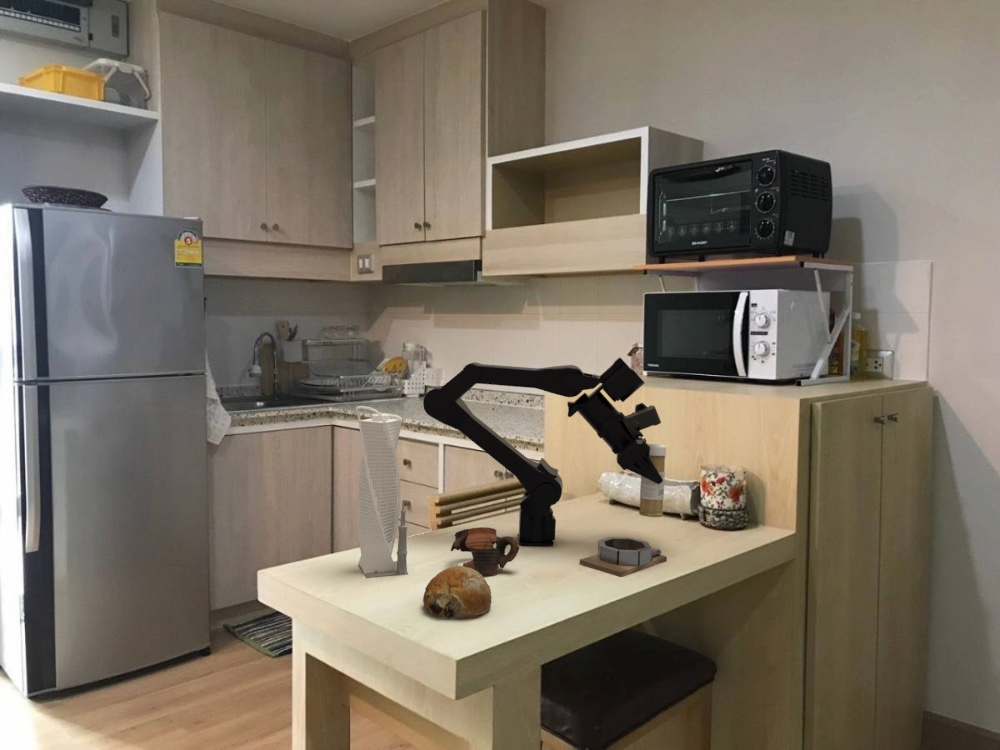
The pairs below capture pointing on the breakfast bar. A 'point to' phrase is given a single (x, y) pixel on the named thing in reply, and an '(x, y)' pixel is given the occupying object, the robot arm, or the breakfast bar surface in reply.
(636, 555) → the collar
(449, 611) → the bread roll
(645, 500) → the sprinkles bottle
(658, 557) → the walnut board
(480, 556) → the pottery mug
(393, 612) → the breakfast bar surface
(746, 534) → the breakfast bar surface
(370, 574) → the skyscraper
